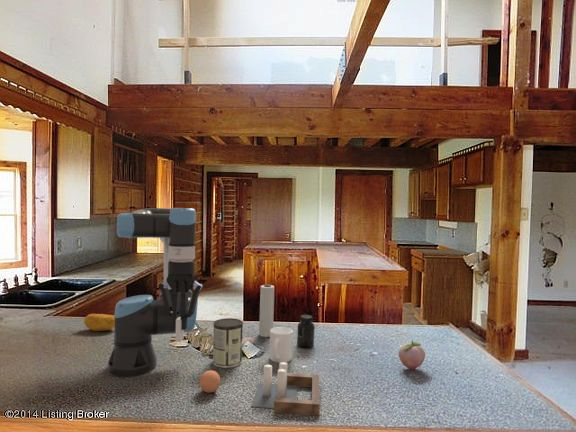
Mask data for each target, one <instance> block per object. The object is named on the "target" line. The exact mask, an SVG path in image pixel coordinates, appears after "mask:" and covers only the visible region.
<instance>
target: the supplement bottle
mask: <svg viewBox="0 0 576 432" xmlns="http://www.w3.org/2000/svg"><path fill="white" fill-rule="evenodd" d="M313 321H314V320H313V315H310V314H301V315H300V319H299V322H298V324H297V332H296V333H297V334H296V335H297V336H296V346H297V347H298V348H299V349H303V350H308V349H313V348H314V346H315V331H316V330H315V328H316V326H315V324H314V323H313Z"/></svg>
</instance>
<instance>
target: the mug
mask: <svg viewBox="0 0 576 432" xmlns="http://www.w3.org/2000/svg"><path fill="white" fill-rule="evenodd" d="M293 338H294V330H293V329H292V328H289V327H285V326H279V327H278V326H277V327H273V328H272V329H271V330H270V337H269V359H270V360H271V362H275V363H278V364H279V363H281V362H286V363H288V362H290V361H291V360H292V358H293V346H294V345H293V343H294V341H293V340H294V339H293Z"/></svg>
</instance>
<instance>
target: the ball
mask: <svg viewBox="0 0 576 432" xmlns="http://www.w3.org/2000/svg"><path fill="white" fill-rule="evenodd" d="M220 385H221V378H220V374H219V373H218V372H217V371H215V370H206V371H205V372H204V373H202V374H201V376H200V377H199V387H200V389H201V390H202V391H203V392H205V393H207V394H211V393H213V392H215V391H217V390H218V389H219V387H220Z"/></svg>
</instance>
